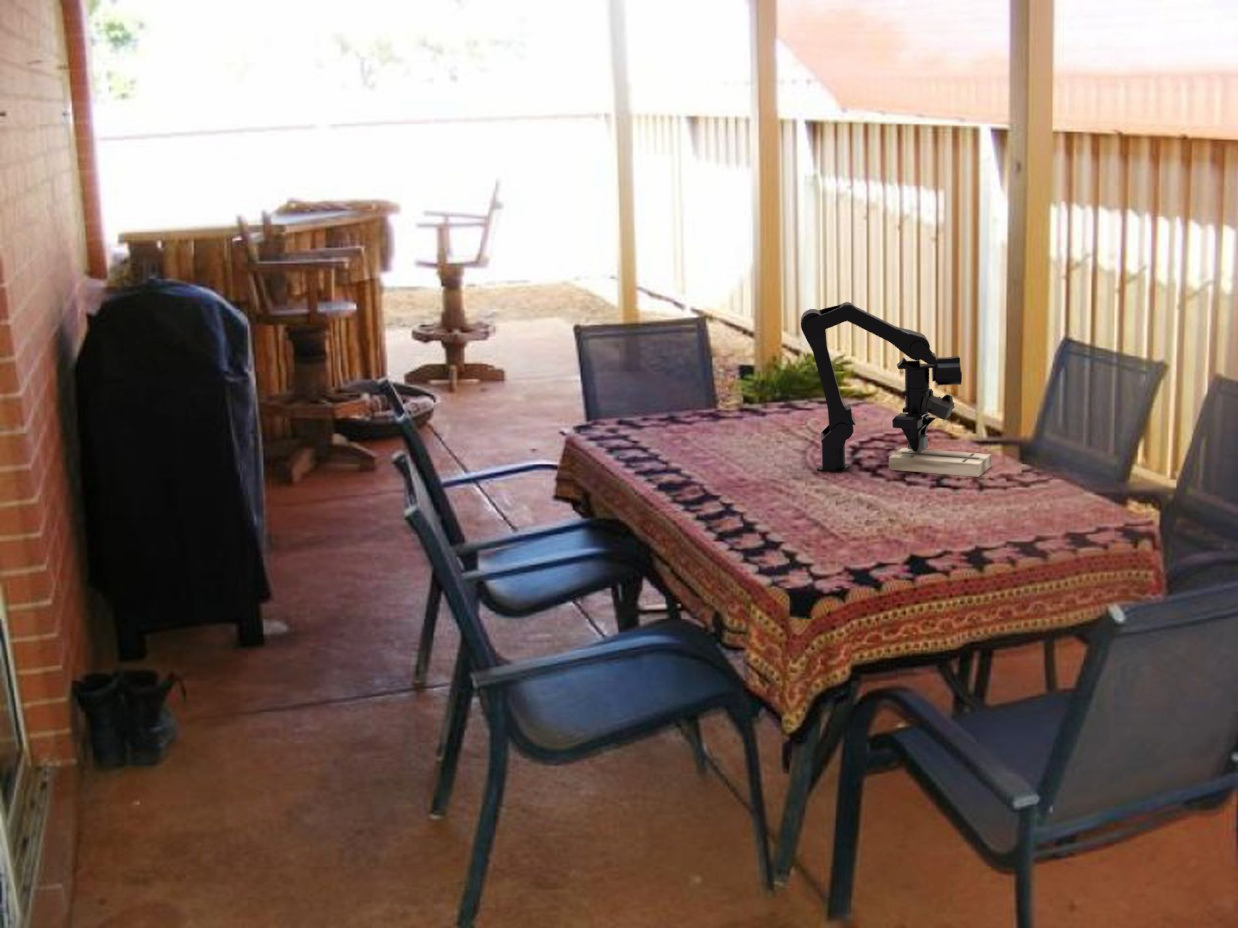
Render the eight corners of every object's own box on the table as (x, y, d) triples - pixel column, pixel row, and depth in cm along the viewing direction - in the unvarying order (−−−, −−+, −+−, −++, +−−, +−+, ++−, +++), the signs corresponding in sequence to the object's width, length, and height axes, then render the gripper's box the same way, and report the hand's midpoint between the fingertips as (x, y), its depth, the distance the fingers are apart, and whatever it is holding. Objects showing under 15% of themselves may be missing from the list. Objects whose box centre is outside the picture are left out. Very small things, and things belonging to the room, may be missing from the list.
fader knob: (923, 454, 363) (923, 437, 362) (907, 453, 365) (907, 436, 364) (927, 451, 365) (927, 434, 364) (912, 450, 367) (911, 433, 366)
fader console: (978, 476, 353) (978, 463, 353) (888, 469, 364) (888, 456, 363) (991, 466, 362) (991, 453, 361) (903, 459, 373) (902, 447, 372)
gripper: (937, 396, 349) (937, 461, 353) (962, 380, 364) (962, 442, 368) (891, 393, 355) (892, 457, 358) (917, 377, 370) (918, 439, 374)
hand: (917, 449), depth 365 cm, fingers closed on fader knob, 3 cm apart
